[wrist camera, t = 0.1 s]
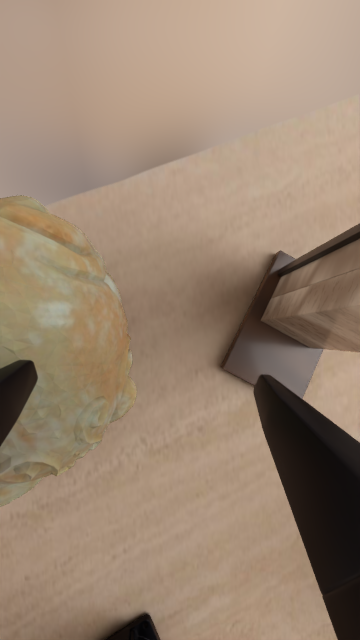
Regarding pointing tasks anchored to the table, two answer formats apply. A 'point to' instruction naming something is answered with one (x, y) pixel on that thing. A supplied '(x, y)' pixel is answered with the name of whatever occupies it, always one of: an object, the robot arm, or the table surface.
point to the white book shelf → (270, 344)
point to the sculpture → (58, 343)
